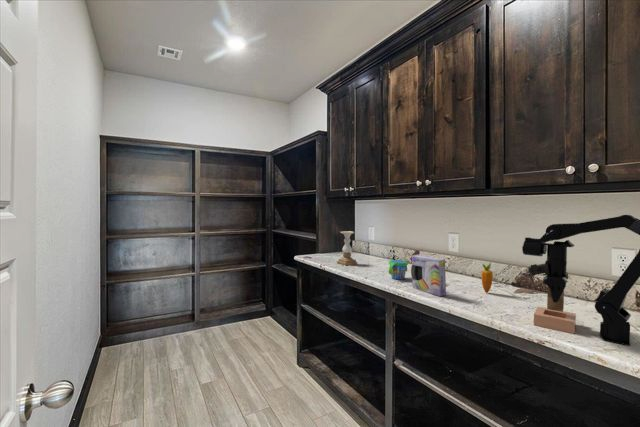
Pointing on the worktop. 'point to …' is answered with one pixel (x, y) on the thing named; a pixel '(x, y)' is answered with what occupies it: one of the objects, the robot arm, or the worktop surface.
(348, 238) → the candle holder
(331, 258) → the worktop surface
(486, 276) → the carrot
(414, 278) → the cake pan box
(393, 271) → the snack cup
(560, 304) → the walnut peg
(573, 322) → the frame
